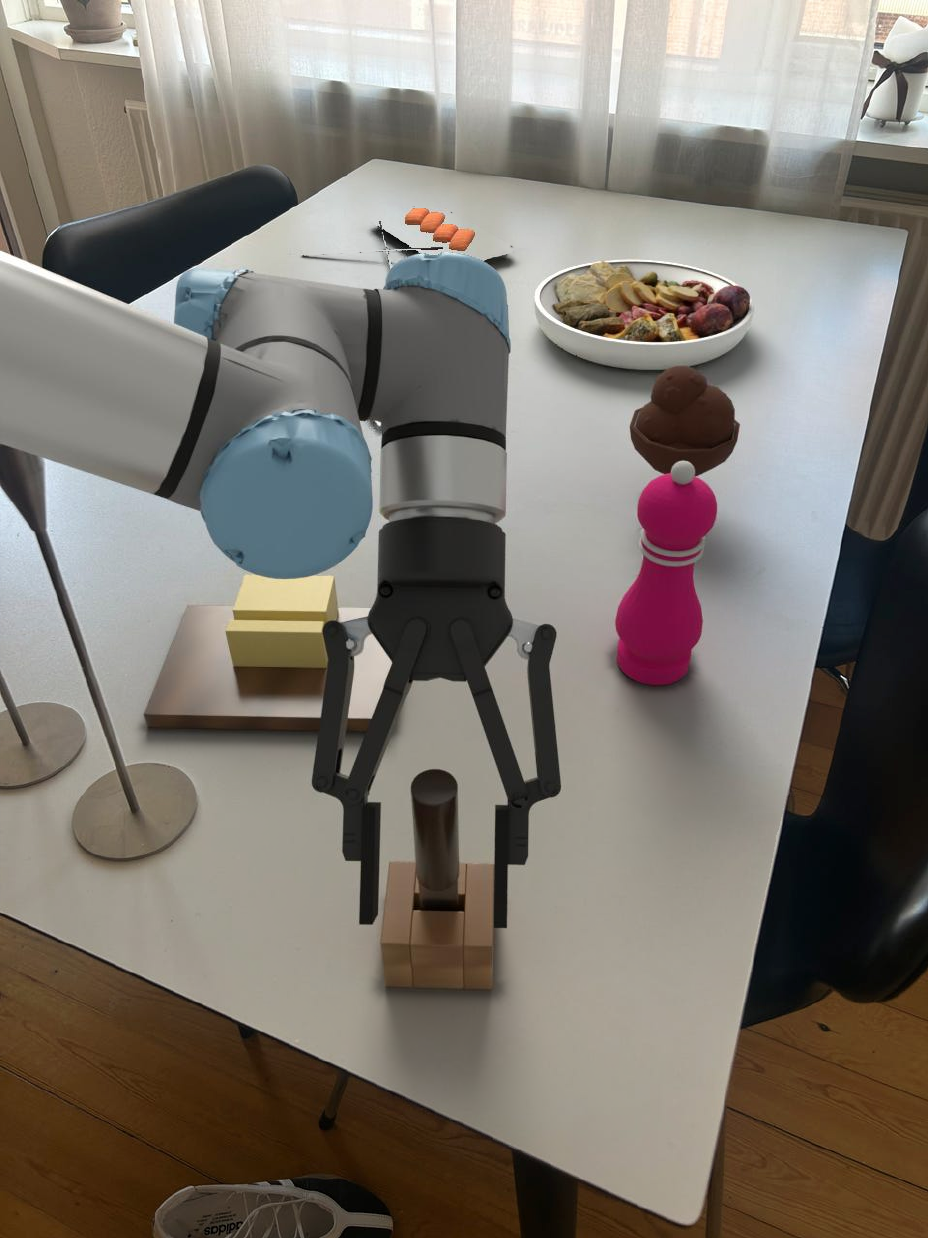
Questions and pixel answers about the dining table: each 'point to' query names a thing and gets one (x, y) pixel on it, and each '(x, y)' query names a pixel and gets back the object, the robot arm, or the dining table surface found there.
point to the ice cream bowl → (685, 423)
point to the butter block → (287, 599)
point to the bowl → (643, 313)
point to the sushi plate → (439, 229)
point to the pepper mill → (666, 578)
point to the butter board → (252, 682)
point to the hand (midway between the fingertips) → (434, 920)
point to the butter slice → (276, 643)
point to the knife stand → (438, 932)
